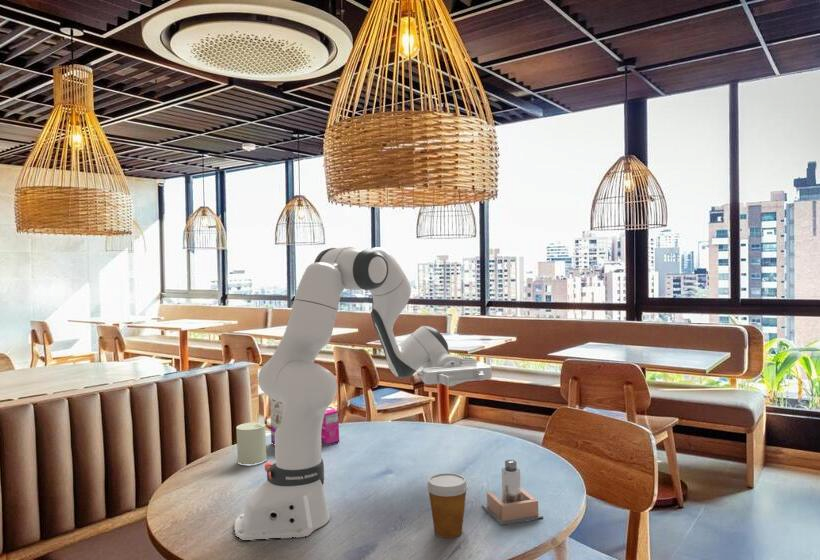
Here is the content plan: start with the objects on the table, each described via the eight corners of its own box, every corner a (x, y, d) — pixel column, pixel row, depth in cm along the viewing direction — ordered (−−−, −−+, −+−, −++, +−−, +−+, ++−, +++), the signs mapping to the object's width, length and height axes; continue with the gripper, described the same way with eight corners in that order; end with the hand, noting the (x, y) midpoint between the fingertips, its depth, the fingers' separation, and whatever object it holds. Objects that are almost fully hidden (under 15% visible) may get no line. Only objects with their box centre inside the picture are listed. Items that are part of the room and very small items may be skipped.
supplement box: (316, 442, 200) (315, 410, 199) (331, 439, 204) (330, 407, 203) (325, 446, 195) (324, 413, 195) (340, 442, 199) (339, 410, 199)
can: (259, 466, 176) (258, 428, 176) (231, 466, 178) (230, 428, 178) (271, 457, 186) (270, 420, 185) (245, 456, 187) (243, 420, 187)
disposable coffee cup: (466, 521, 135) (464, 471, 134) (471, 540, 125) (470, 486, 125) (426, 523, 134) (424, 472, 134) (428, 542, 125) (427, 488, 125)
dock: (500, 525, 132) (500, 508, 132) (482, 506, 143) (481, 490, 143) (543, 518, 135) (542, 501, 135) (521, 500, 146) (521, 485, 146)
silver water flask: (507, 515, 136) (506, 465, 136) (499, 507, 140) (498, 459, 140) (524, 512, 137) (523, 463, 137) (515, 505, 142) (514, 457, 141)
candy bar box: (298, 447, 195) (297, 400, 194) (285, 451, 191) (284, 402, 191) (283, 440, 203) (282, 395, 203) (270, 443, 200) (269, 397, 200)
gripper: (415, 362, 165) (429, 370, 152) (480, 357, 171) (499, 364, 157) (415, 383, 165) (430, 393, 152) (480, 378, 171) (500, 387, 157)
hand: (466, 378), depth 155 cm, fingers open, 8 cm apart
